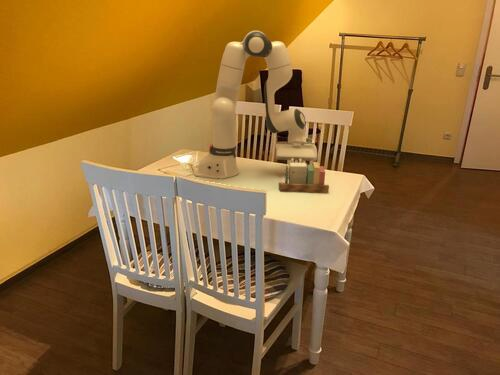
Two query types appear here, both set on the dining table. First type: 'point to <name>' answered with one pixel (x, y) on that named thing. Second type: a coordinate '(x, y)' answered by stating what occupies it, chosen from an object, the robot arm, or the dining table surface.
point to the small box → (297, 173)
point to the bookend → (285, 176)
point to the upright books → (315, 174)
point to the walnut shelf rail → (304, 188)
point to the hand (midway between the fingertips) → (296, 167)
